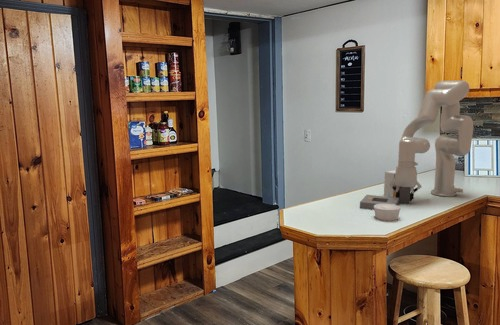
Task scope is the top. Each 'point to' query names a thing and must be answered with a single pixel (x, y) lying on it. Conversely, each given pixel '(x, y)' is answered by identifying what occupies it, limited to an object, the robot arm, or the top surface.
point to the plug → (404, 195)
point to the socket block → (377, 201)
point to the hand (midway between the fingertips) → (404, 199)
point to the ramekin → (386, 211)
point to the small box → (388, 179)
